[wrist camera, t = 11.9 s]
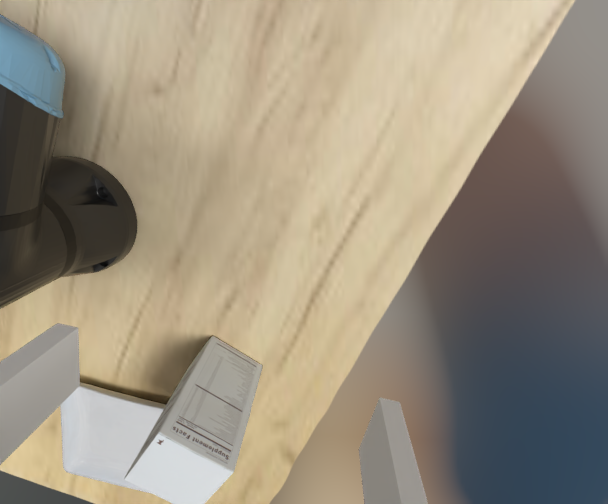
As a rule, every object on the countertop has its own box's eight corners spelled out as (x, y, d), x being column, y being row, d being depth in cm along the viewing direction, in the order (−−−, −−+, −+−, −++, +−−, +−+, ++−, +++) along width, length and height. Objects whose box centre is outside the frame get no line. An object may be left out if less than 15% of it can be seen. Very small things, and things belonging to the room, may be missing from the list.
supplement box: (184, 372, 50) (118, 479, 34) (212, 333, 47) (154, 430, 31) (235, 401, 51) (194, 518, 36) (265, 365, 49) (235, 474, 33)
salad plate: (75, 456, 59) (60, 474, 56) (73, 368, 52) (56, 383, 49) (185, 482, 59) (177, 502, 56) (198, 398, 52) (190, 415, 49)
